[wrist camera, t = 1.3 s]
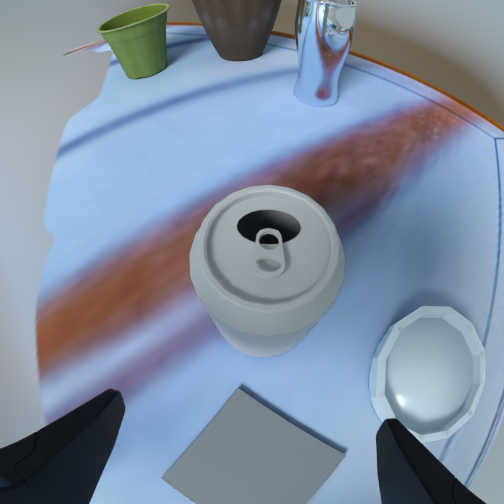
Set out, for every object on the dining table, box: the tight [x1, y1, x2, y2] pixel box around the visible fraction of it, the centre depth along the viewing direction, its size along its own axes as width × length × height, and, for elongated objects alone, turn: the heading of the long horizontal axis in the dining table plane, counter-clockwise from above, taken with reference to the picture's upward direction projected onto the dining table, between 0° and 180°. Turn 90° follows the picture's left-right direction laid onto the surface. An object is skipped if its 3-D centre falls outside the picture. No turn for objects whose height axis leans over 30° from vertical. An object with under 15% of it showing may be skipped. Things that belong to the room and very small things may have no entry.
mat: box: [162, 388, 346, 504], centre depth 17 cm, size 10×10×1 cm
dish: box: [369, 306, 486, 443], centre depth 19 cm, size 11×11×2 cm
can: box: [190, 185, 345, 358], centre depth 18 cm, size 8×8×12 cm
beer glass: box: [294, 0, 357, 107], centre depth 29 cm, size 7×7×15 cm
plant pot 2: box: [192, 0, 281, 61], centre depth 35 cm, size 15×15×16 cm
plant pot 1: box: [97, 3, 170, 79], centre depth 36 cm, size 12×12×11 cm
